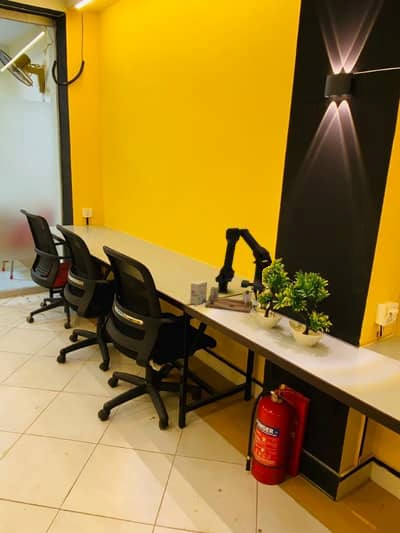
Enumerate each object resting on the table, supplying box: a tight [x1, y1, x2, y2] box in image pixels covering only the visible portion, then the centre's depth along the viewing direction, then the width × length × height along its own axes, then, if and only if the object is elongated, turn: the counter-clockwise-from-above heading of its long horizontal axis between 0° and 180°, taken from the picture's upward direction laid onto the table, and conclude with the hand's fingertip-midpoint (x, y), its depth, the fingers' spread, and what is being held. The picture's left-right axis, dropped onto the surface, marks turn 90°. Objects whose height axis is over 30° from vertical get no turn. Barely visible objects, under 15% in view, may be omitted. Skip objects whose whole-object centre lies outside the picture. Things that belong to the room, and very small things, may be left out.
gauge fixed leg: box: [209, 286, 219, 303], centre depth 215 cm, size 9×4×6 cm, turn 168°
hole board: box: [204, 295, 253, 314], centre depth 214 cm, size 13×24×3 cm, turn 78°
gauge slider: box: [242, 289, 252, 307], centre depth 212 cm, size 9×4×7 cm, turn 168°
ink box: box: [189, 279, 208, 306], centre depth 214 cm, size 9×5×12 cm, turn 141°
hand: (256, 300), depth 214 cm, fingers closed
